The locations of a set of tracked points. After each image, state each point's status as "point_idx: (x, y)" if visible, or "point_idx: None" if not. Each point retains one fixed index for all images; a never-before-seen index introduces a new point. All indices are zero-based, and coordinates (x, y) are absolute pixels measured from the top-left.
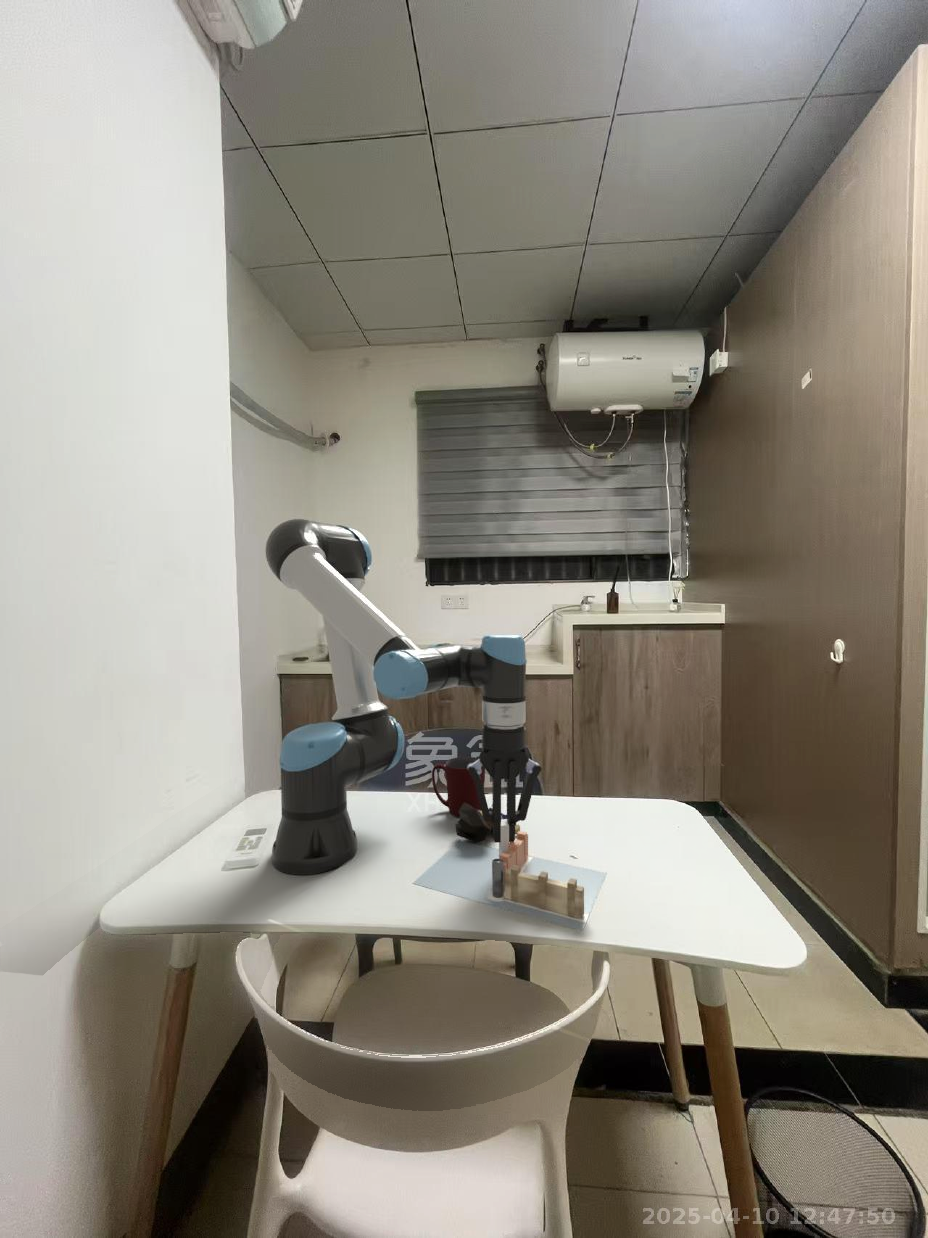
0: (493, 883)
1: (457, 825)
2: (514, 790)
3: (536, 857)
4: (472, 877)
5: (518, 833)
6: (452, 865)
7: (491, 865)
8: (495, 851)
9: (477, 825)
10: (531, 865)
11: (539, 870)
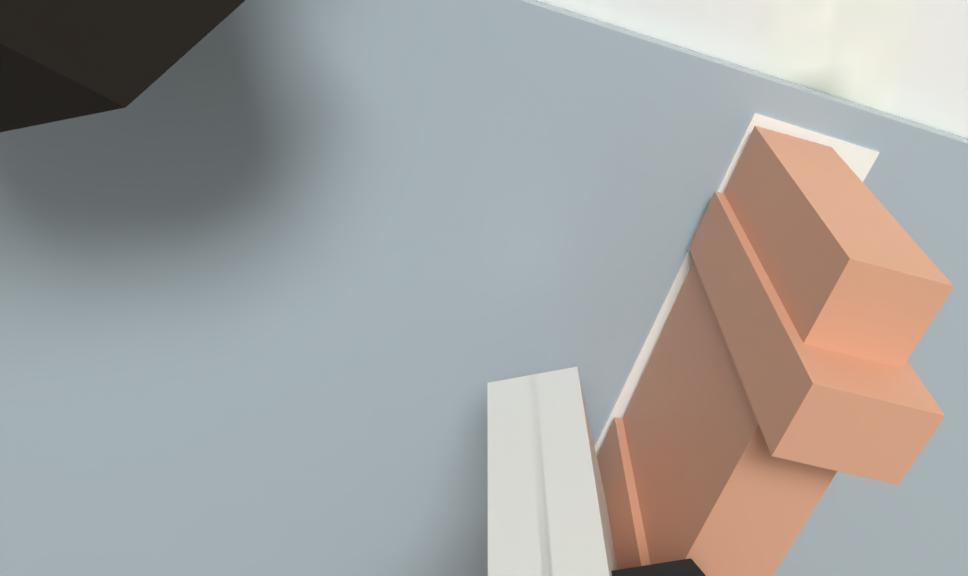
0: None
1: None
2: None
3: (931, 134)
4: (281, 545)
5: (795, 461)
6: (27, 404)
7: (412, 362)
8: (407, 55)
9: (6, 130)
10: None
11: None
